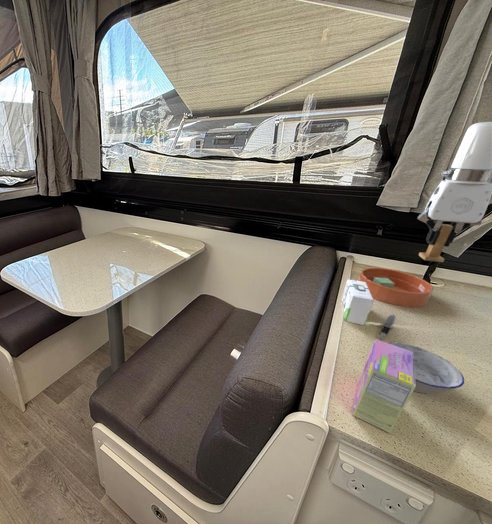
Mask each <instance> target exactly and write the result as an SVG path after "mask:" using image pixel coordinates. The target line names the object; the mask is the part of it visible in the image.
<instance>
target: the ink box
mask: <svg viewBox="0 0 492 524" xmlns="http://www.w3.org/2000/svg"><path fill="white" fill-rule="evenodd" d="M341 299H342V301H343V305H344V313H343V317H344V322H348V323H352V324H356V325H360V326H365V325H366V323H367V320H368V319H369V315H370V312H371V309H372V307H373V304H374V302H375V301H374V298H372V295H371V293H370V291H369V289H368V286H367V284H366V282H362V281H358V280H355V279H349V278H348V279H346V283H345V286H344V290H343V292H342V296H341Z"/></svg>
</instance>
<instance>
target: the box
mask: <svg viewBox="0 0 492 524" xmlns="http://www.w3.org/2000/svg"><path fill="white" fill-rule="evenodd" d="M388 343H389V342H385V341H382V340H378V339H375V340H374V342H373V345H372V348H371V349H370V352H369V355H368V357H367V360H366V362H365V365H364V368H363V370H362V373H361V374H360V377H359V380H358V383H357V387H356V393H355V397H354V402H353V407H352V412H351V414H352V416H354V417H355V418H358V419H359V420H361V421H363V422H365V423H367V424H370V425H371V426H373V427H376V428H377V429H379V430H382V431H384V432H386V433H388V434H391V432H392V431H393V429H394V428H395V426H396V423H397V421H398V419H399V418H400V416H401V414H402V412H403V410H404V409H405V407H406V406H407V403H408V401H409V399H410V398H411V396H412V394H413V393H414V391H413V390H414V389H415V387H416V384H415V371H414V356H413V352H412V351H409V350H406V349H403V348H400V347H397V346H394V345H391V344H388Z"/></svg>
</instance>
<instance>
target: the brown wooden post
mask: <svg viewBox="0 0 492 524" xmlns="http://www.w3.org/2000/svg"><path fill="white" fill-rule="evenodd" d="M452 228H453V226H451V224H446V223H442V225H441V227H440V229H439V231H440V235H439V237H438V239H437V241H436V243H435V245H430V244H429V243H428V244H429V245H428V247H427V249H426V251H425V252H421V251H420V252H419V253H418V256H419V257H420V258H421V259H422V260H424V261H429V262H437V263H444V261H445V258H444V257H442V256H441V254H442V251H443V249H444V247H445V246H444V245H445V243H446V241H447V239H448V237H449V235H450V233H451V230H452Z"/></svg>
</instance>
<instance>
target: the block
mask: <svg viewBox="0 0 492 524" xmlns="http://www.w3.org/2000/svg"><path fill="white" fill-rule="evenodd" d="M373 282H374V283H377V284H379V285H382V286H385V287H388V288H391V289H393V287H394V285H395V283H393V282H392V281H391V280H389V279H388V278H377V277H374V280H373Z"/></svg>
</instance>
